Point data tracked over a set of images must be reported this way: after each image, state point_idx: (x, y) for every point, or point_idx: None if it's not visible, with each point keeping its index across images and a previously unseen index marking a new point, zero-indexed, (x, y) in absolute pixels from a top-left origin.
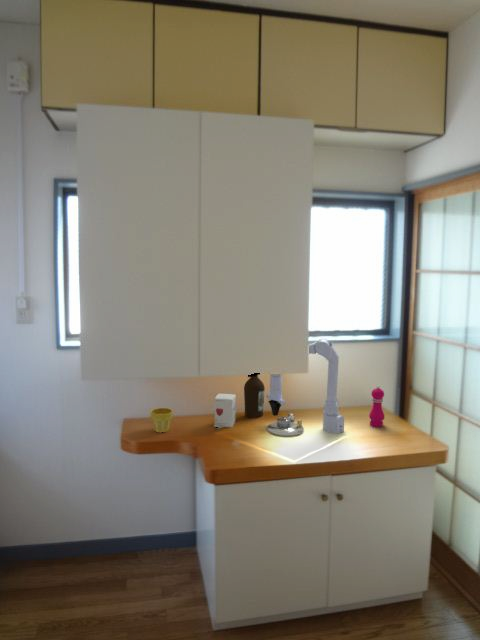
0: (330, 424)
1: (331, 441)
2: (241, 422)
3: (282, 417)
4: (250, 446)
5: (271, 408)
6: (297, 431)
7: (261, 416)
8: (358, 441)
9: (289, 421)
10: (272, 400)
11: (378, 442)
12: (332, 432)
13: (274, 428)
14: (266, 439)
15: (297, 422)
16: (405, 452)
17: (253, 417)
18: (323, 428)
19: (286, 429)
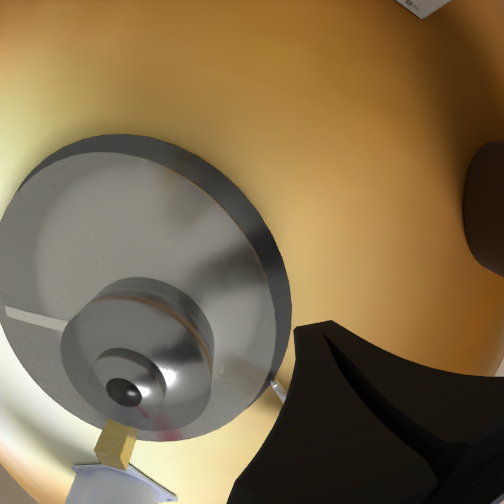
0: (83, 500)
1: (24, 426)
2: (435, 63)
3: (142, 387)
4: (6, 27)
5: (387, 356)
6: (34, 365)
7: (477, 246)
8: (47, 473)
9: (86, 396)
10: (475, 486)
11: (53, 491)
12: (86, 475)
13: (90, 222)
14: (29, 119)
15: (124, 439)
16: (14, 477)
17: (478, 173)
18: (115, 480)
19: (61, 318)
